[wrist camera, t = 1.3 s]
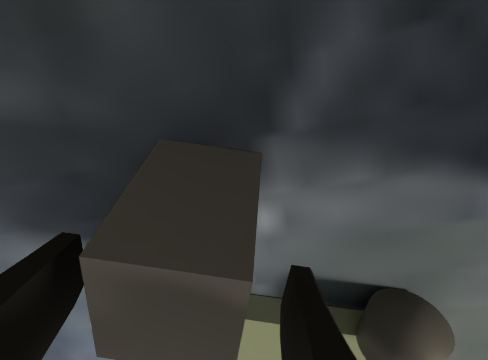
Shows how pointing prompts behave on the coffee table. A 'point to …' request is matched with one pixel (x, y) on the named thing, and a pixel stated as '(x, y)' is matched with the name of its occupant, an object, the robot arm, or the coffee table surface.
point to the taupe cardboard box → (176, 257)
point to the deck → (360, 328)
